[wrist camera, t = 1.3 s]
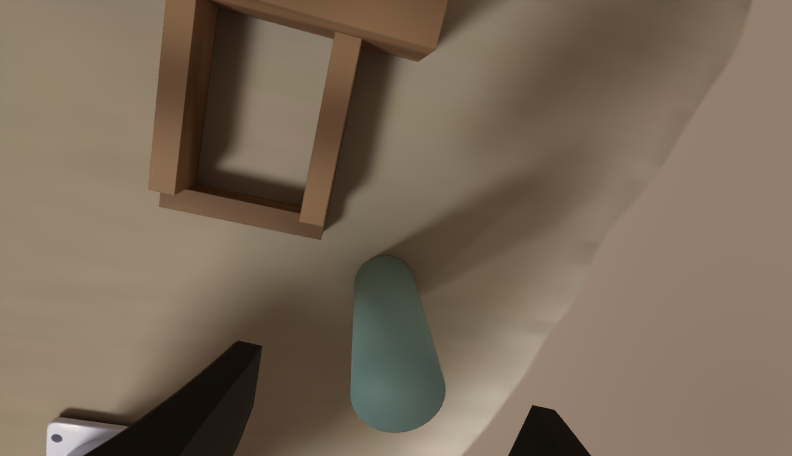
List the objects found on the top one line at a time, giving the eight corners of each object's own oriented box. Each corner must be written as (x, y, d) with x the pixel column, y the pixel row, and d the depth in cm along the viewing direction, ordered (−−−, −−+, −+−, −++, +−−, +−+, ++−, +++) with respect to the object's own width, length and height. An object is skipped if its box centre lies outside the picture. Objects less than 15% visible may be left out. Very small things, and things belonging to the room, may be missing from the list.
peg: (406, 315, 22) (431, 438, 14) (348, 304, 22) (341, 425, 14) (420, 262, 22) (456, 359, 13) (361, 250, 21) (361, 343, 13)
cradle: (374, 242, 21) (377, 282, 16) (112, 188, 19) (35, 215, 15) (435, -13, 18) (460, -52, 14) (134, -103, 16) (46, -181, 12)
